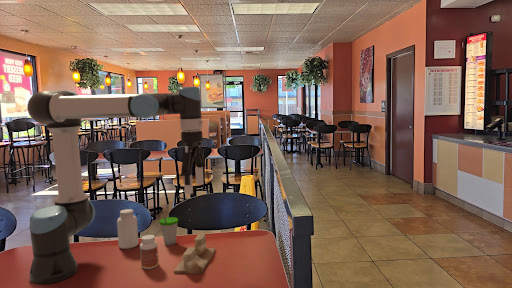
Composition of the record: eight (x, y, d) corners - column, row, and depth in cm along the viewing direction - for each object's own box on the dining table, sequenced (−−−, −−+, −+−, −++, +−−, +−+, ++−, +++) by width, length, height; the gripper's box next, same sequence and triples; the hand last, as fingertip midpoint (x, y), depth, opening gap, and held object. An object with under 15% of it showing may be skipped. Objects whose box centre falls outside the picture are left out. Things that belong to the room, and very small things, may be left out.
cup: (174, 238, 169) (172, 205, 167) (183, 243, 163) (181, 209, 161) (157, 243, 164) (155, 209, 162) (166, 248, 158) (163, 213, 156)
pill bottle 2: (161, 266, 142) (159, 237, 140) (144, 271, 138) (142, 241, 137) (155, 260, 147) (153, 232, 145) (139, 265, 143) (137, 236, 142)
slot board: (174, 273, 136) (172, 254, 135) (191, 250, 156) (190, 233, 155) (201, 274, 135) (200, 254, 134) (215, 250, 154) (214, 233, 153)
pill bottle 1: (142, 243, 164) (140, 209, 162) (127, 250, 157) (124, 215, 155) (130, 240, 168) (127, 207, 166) (114, 247, 161) (111, 212, 159)
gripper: (191, 134, 125) (194, 198, 128) (210, 127, 150) (213, 180, 152) (168, 134, 126) (172, 198, 129) (191, 127, 151) (194, 180, 153)
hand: (194, 188), depth 141 cm, fingers open, 13 cm apart
